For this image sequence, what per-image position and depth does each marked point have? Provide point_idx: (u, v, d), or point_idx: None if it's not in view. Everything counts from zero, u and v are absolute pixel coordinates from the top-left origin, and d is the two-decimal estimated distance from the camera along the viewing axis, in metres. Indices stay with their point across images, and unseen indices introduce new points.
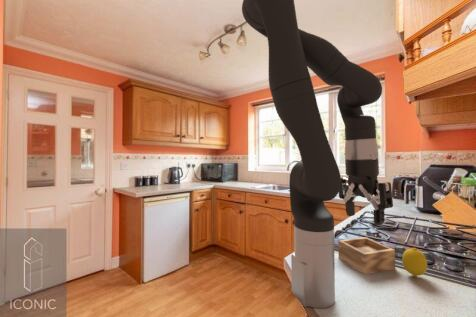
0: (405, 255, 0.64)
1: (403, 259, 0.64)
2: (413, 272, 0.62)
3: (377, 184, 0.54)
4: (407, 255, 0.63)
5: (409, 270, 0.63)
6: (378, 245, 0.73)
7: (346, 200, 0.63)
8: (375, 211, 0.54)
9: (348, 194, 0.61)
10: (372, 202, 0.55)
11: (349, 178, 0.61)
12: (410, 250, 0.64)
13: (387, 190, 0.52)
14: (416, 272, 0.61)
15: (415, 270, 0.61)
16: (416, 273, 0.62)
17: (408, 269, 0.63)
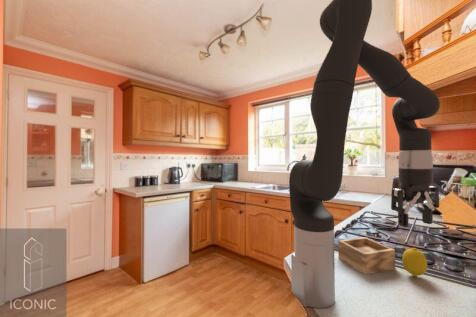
0: (405, 255, 0.64)
1: (403, 259, 0.64)
2: (413, 272, 0.62)
3: (429, 188, 0.64)
4: (407, 255, 0.63)
5: (409, 270, 0.63)
6: (378, 245, 0.73)
7: (407, 211, 0.61)
8: (431, 212, 0.63)
9: (412, 204, 0.61)
10: (430, 205, 0.63)
11: (410, 188, 0.61)
12: (410, 250, 0.64)
13: None
14: (416, 272, 0.61)
15: (415, 270, 0.61)
16: (416, 273, 0.62)
17: (408, 269, 0.63)
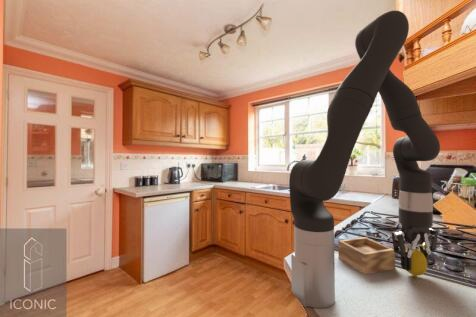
0: None
1: None
2: (413, 272, 0.62)
3: None
4: None
5: None
6: (378, 245, 0.73)
7: (410, 255, 0.61)
8: (427, 256, 0.63)
9: (414, 247, 0.61)
10: (427, 248, 0.63)
11: (409, 230, 0.61)
12: None
13: None
14: (416, 272, 0.61)
15: (415, 270, 0.61)
16: (416, 273, 0.62)
17: None
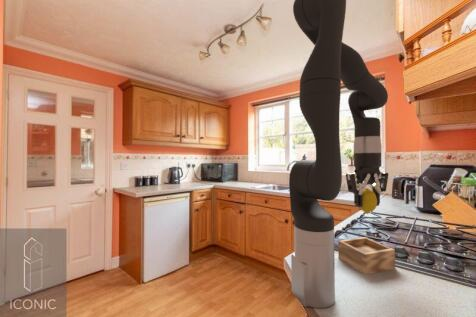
0: None
1: None
2: (364, 208, 0.70)
3: (380, 173, 0.72)
4: None
5: (361, 207, 0.70)
6: (377, 245, 0.73)
7: (361, 193, 0.69)
8: (378, 195, 0.71)
9: (364, 185, 0.69)
10: (378, 188, 0.70)
11: (360, 170, 0.69)
12: (363, 190, 0.71)
13: None
14: (367, 207, 0.69)
15: (365, 206, 0.69)
16: (367, 209, 0.69)
17: None
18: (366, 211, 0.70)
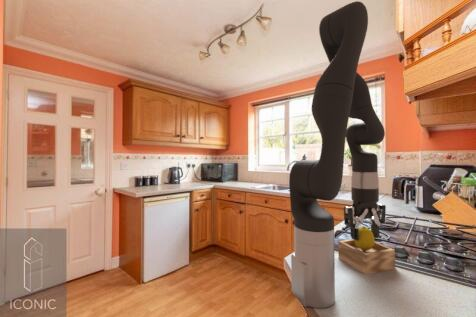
0: None
1: None
2: (362, 247, 0.70)
3: (378, 206, 0.72)
4: None
5: (359, 245, 0.71)
6: (377, 245, 0.73)
7: (357, 226, 0.70)
8: (377, 227, 0.72)
9: (361, 220, 0.69)
10: (376, 221, 0.71)
11: (359, 205, 0.70)
12: (360, 228, 0.72)
13: None
14: (364, 247, 0.70)
15: (363, 245, 0.70)
16: (364, 248, 0.70)
17: (358, 245, 0.71)
18: (363, 249, 0.71)
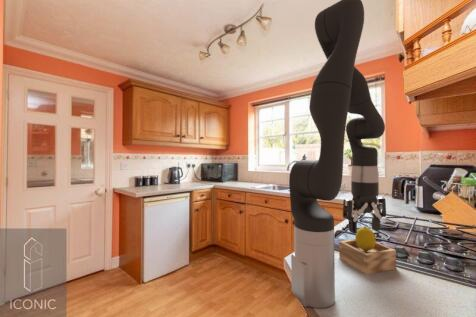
0: (357, 233, 0.72)
1: (356, 236, 0.72)
2: (363, 247, 0.70)
3: (378, 200, 0.72)
4: (358, 233, 0.71)
5: (360, 246, 0.71)
6: (378, 245, 0.73)
7: (356, 219, 0.69)
8: (378, 220, 0.72)
9: (360, 213, 0.69)
10: (377, 214, 0.72)
11: (359, 199, 0.70)
12: (361, 228, 0.72)
13: None
14: (365, 247, 0.70)
15: (364, 245, 0.70)
16: (365, 248, 0.70)
17: (359, 245, 0.71)
18: (365, 250, 0.71)
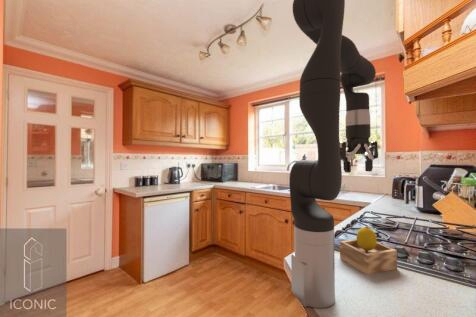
0: (358, 233, 0.72)
1: (357, 236, 0.72)
2: (364, 247, 0.70)
3: (370, 143, 0.79)
4: (360, 233, 0.71)
5: (361, 246, 0.71)
6: (379, 245, 0.72)
7: (349, 159, 0.76)
8: (371, 161, 0.78)
9: (354, 153, 0.76)
10: (370, 155, 0.78)
11: (352, 141, 0.76)
12: (363, 228, 0.72)
13: None
14: (366, 247, 0.70)
15: (365, 245, 0.69)
16: (366, 248, 0.70)
17: (360, 245, 0.71)
18: (366, 250, 0.71)
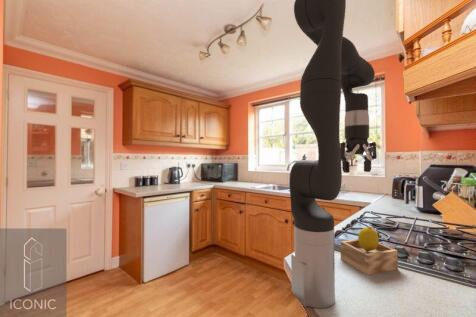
0: (361, 233, 0.71)
1: (359, 236, 0.72)
2: (366, 247, 0.70)
3: (369, 143, 0.79)
4: (362, 233, 0.71)
5: (363, 246, 0.70)
6: (380, 245, 0.72)
7: (348, 159, 0.76)
8: (369, 162, 0.79)
9: (353, 154, 0.76)
10: (368, 156, 0.78)
11: (351, 141, 0.77)
12: (366, 228, 0.71)
13: None
14: (369, 247, 0.69)
15: (368, 245, 0.69)
16: (368, 248, 0.69)
17: (362, 245, 0.70)
18: (367, 250, 0.70)
